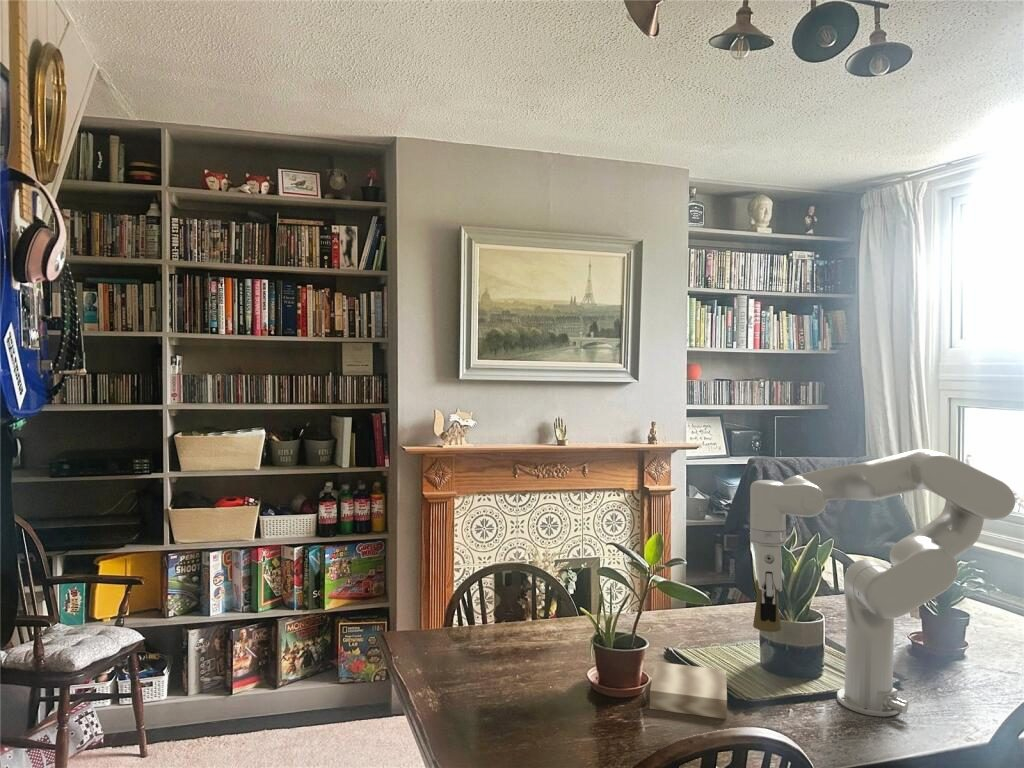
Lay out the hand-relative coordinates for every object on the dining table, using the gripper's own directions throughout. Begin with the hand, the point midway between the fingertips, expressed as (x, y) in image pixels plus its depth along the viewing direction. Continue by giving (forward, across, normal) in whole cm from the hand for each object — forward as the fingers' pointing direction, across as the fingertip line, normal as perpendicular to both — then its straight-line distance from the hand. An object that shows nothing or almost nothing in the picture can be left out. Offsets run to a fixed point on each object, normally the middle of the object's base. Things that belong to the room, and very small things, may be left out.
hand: (767, 616), depth 163 cm
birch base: (+18, -5, +17) cm, 25 cm away
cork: (+2, 0, 0) cm, 2 cm away
